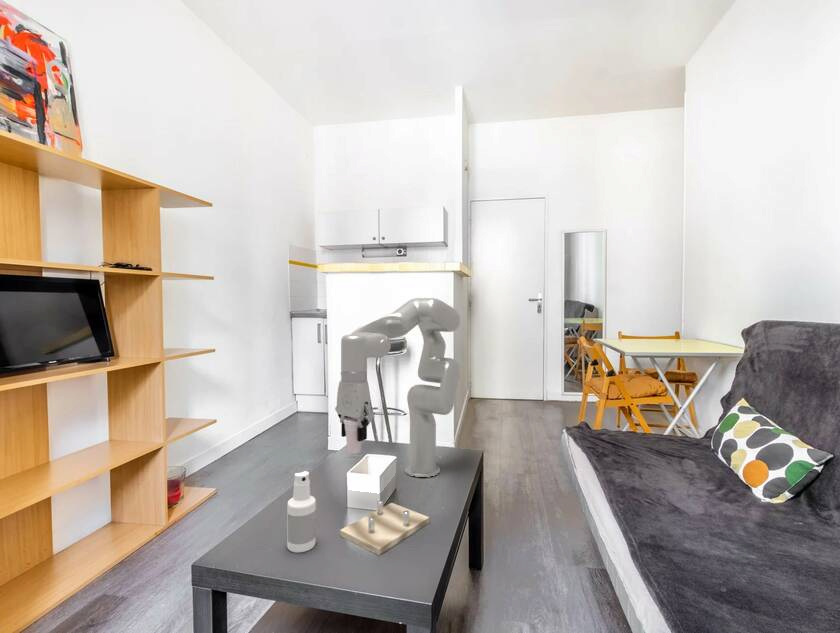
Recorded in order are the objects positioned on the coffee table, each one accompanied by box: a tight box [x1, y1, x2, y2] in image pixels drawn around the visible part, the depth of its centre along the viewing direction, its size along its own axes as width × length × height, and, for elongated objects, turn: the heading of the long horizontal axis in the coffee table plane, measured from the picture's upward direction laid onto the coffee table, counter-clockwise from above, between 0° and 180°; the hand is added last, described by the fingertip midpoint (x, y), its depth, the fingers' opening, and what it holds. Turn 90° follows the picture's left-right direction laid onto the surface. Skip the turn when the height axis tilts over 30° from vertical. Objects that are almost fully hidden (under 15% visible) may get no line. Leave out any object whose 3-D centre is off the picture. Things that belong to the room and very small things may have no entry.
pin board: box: [339, 500, 430, 556], centre depth 112 cm, size 20×14×5 cm
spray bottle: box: [286, 470, 317, 554], centre depth 104 cm, size 7×7×18 cm
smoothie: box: [343, 417, 364, 455], centre depth 123 cm, size 6×6×14 cm
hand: (354, 437), depth 123 cm, fingers closed on smoothie, 6 cm apart
